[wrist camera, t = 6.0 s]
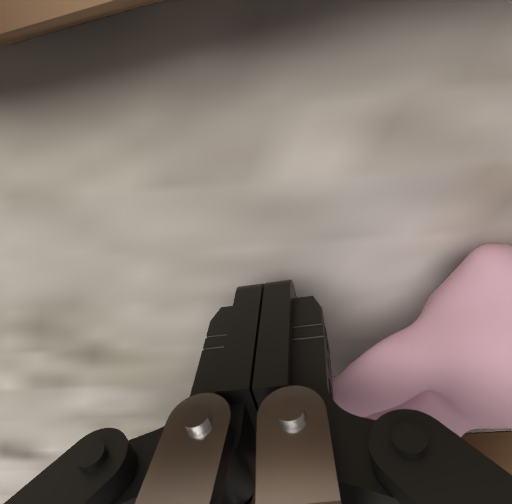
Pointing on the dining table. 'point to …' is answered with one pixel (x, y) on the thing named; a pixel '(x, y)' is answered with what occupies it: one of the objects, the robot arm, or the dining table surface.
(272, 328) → the robot arm
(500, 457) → the channel rails
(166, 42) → the dining table surface
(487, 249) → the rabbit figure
